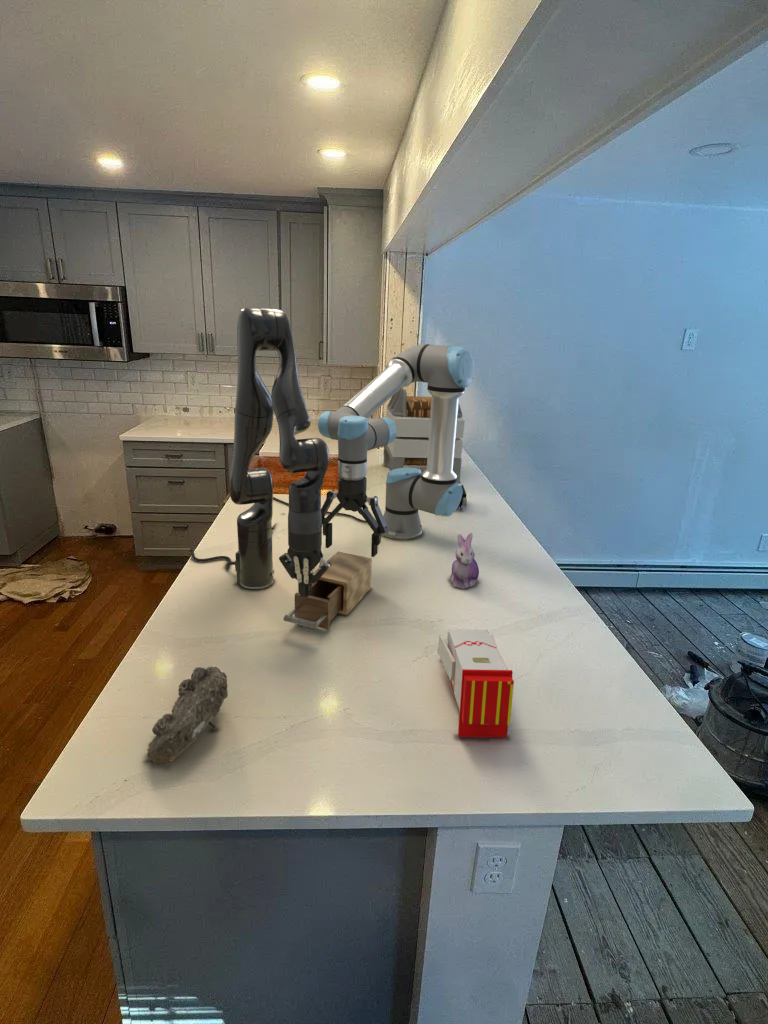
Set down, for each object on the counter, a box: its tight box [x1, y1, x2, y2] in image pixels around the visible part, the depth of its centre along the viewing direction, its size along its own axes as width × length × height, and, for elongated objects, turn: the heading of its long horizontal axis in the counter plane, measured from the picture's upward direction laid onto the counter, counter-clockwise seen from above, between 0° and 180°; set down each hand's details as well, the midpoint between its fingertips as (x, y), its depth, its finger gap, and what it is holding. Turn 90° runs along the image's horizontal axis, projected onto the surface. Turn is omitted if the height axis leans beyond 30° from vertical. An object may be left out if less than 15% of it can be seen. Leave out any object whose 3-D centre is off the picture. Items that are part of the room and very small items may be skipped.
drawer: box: [283, 580, 344, 630], centre depth 141 cm, size 21×9×7 cm, turn 159°
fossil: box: [146, 666, 229, 764], centre depth 104 cm, size 22×10×15 cm
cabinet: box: [312, 551, 373, 616], centre depth 153 cm, size 16×10×10 cm, turn 159°
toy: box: [437, 628, 515, 738], centre depth 117 cm, size 12×13×30 cm
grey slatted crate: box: [383, 387, 465, 484], centre depth 268 cm, size 34×33×41 cm
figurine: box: [450, 532, 480, 589], centre depth 164 cm, size 9×10×15 cm
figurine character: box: [457, 484, 468, 511], centre depth 230 cm, size 7×8×15 cm
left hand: (305, 595), depth 133 cm, fingers closed
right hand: (351, 550), depth 155 cm, fingers open, 13 cm apart
